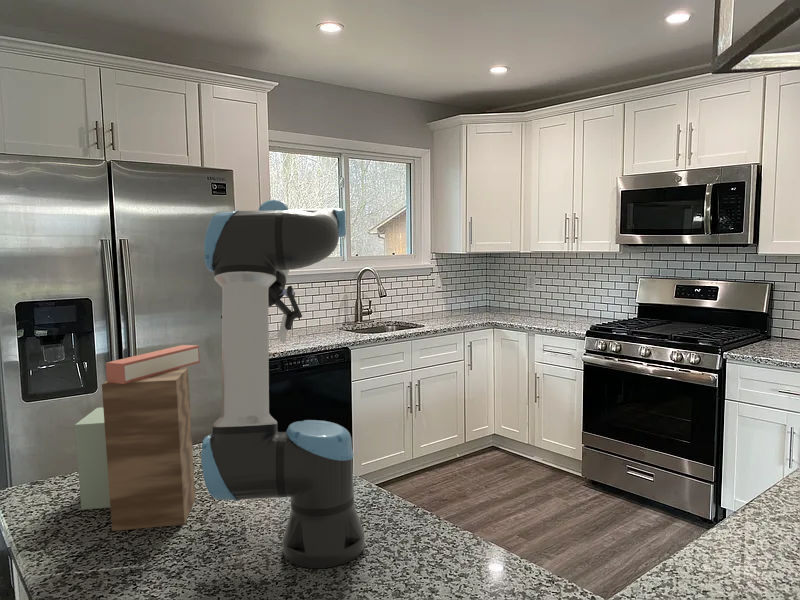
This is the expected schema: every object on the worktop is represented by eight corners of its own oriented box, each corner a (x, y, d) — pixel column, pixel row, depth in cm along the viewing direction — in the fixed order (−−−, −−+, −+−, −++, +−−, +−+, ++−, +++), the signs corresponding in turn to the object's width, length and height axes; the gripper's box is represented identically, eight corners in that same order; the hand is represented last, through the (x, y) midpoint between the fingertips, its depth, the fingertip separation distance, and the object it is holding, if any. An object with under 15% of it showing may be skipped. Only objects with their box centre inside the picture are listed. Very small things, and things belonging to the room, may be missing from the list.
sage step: (139, 504, 132) (133, 420, 131) (81, 509, 131) (74, 424, 129) (154, 480, 146) (150, 404, 144) (102, 484, 144) (97, 407, 143)
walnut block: (184, 524, 122) (175, 380, 120) (112, 530, 120) (101, 384, 118) (195, 500, 134) (187, 368, 132) (129, 505, 132) (120, 371, 129)
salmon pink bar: (183, 361, 139) (182, 344, 139) (199, 362, 138) (198, 345, 137) (106, 382, 119) (105, 362, 119) (124, 383, 117) (123, 363, 117)
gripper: (322, 283, 156) (309, 347, 142) (233, 291, 160) (211, 354, 146) (313, 262, 151) (299, 326, 136) (221, 272, 155) (198, 335, 141)
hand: (254, 341), depth 141 cm, fingers open, 13 cm apart
